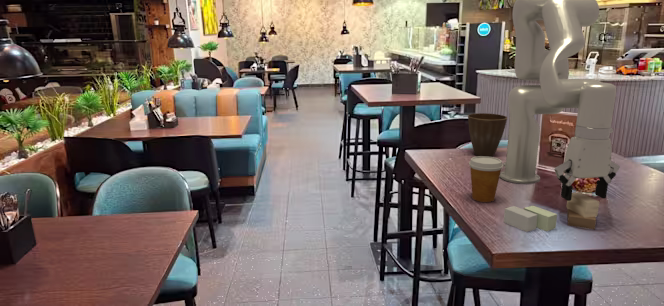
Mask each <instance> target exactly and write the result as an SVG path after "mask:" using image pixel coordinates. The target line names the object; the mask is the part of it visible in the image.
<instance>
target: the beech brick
mask: <svg viewBox="0 0 664 306" xmlns="http://www.w3.org/2000/svg"><path fill="white" fill-rule="evenodd" d="M599 207H600V201H599V200H596V199H595V198H593V197H590V196H588V195H586V194H584V193H583V192H579V191H578V192H572V198H571V201H567V200H566V208H567V210H568V209H570V210H572V211H574V212H576V213H577V214H579V215H581V216H583V217H585V218H586V217H598V215H599V209H600V208H599Z"/></svg>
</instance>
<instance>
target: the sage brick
mask: <svg viewBox="0 0 664 306" xmlns="http://www.w3.org/2000/svg"><path fill="white" fill-rule="evenodd" d="M523 210H526V211H529V212H531V213H534V214H537V224H536V229H539V230H542V231H544V232H549V231H552V230H555V229H556V227H557V220H558V214H557V213H554V212H552V211H550V210H547V209H543V208H541V207H539V206H535V205H530V206H526V207H524V208H523Z"/></svg>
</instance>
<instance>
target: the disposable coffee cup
mask: <svg viewBox="0 0 664 306" xmlns="http://www.w3.org/2000/svg"><path fill="white" fill-rule="evenodd" d="M468 165H469V167H470V181H471V183H470V185H471V197H472V199H473V200H475V201H477V202H481V203H491V201H492V202H494V201H495V198H496V194H497V189H498V185H499V180H500V173H501V172H502V169H503V167H504V166H503V160H501V159H500V158H497V157H494V156H492V157H487V156H473V157H471V158H470V160H469V162H468Z"/></svg>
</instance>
